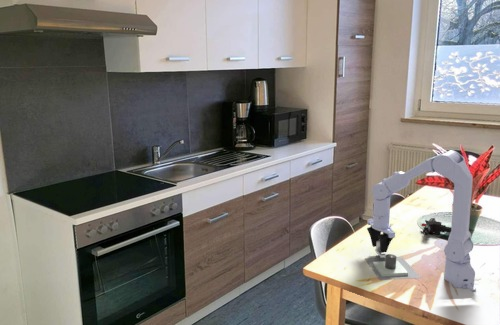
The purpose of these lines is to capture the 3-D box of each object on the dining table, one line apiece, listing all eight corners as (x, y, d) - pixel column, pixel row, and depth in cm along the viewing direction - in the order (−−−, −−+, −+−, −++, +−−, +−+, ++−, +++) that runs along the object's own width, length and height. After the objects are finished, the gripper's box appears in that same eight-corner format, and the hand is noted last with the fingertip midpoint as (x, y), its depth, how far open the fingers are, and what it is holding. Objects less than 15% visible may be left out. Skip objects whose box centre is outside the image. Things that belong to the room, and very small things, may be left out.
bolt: (386, 257, 159) (387, 245, 158) (379, 257, 159) (380, 246, 158) (381, 250, 164) (381, 239, 163) (374, 251, 164) (375, 239, 163)
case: (420, 281, 147) (421, 274, 146) (379, 283, 146) (379, 276, 145) (401, 260, 162) (401, 254, 162) (364, 262, 162) (364, 255, 161)
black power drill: (462, 219, 190) (426, 214, 198) (458, 230, 174) (418, 223, 181) (461, 231, 191) (425, 225, 198) (456, 243, 174) (417, 236, 182)
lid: (408, 275, 148) (409, 261, 147) (382, 276, 148) (382, 262, 147) (397, 263, 157) (398, 250, 156) (373, 264, 156) (373, 251, 155)
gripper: (403, 219, 154) (400, 255, 157) (379, 206, 167) (377, 240, 170) (385, 222, 152) (383, 258, 155) (363, 209, 165) (361, 242, 168)
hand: (379, 249), depth 162 cm, fingers open, 5 cm apart
